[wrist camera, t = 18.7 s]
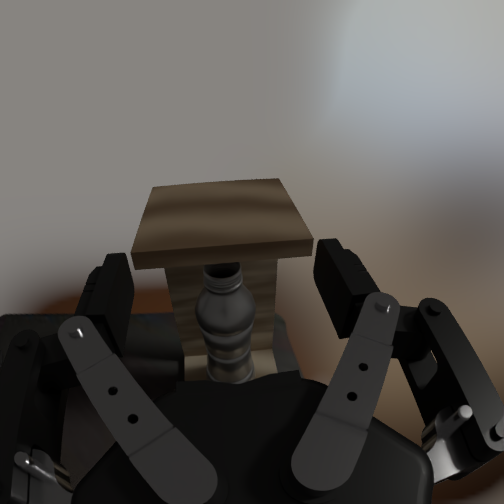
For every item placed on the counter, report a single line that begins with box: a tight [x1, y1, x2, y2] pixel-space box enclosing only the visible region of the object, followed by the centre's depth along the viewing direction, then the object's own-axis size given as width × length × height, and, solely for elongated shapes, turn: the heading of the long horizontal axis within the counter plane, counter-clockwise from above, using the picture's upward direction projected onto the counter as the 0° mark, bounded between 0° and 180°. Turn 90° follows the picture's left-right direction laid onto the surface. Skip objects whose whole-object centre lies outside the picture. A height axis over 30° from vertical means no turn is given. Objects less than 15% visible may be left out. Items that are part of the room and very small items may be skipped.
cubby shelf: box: [131, 178, 314, 381], centre depth 34 cm, size 12×13×27 cm
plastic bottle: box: [195, 262, 256, 384], centre depth 35 cm, size 6×7×20 cm
